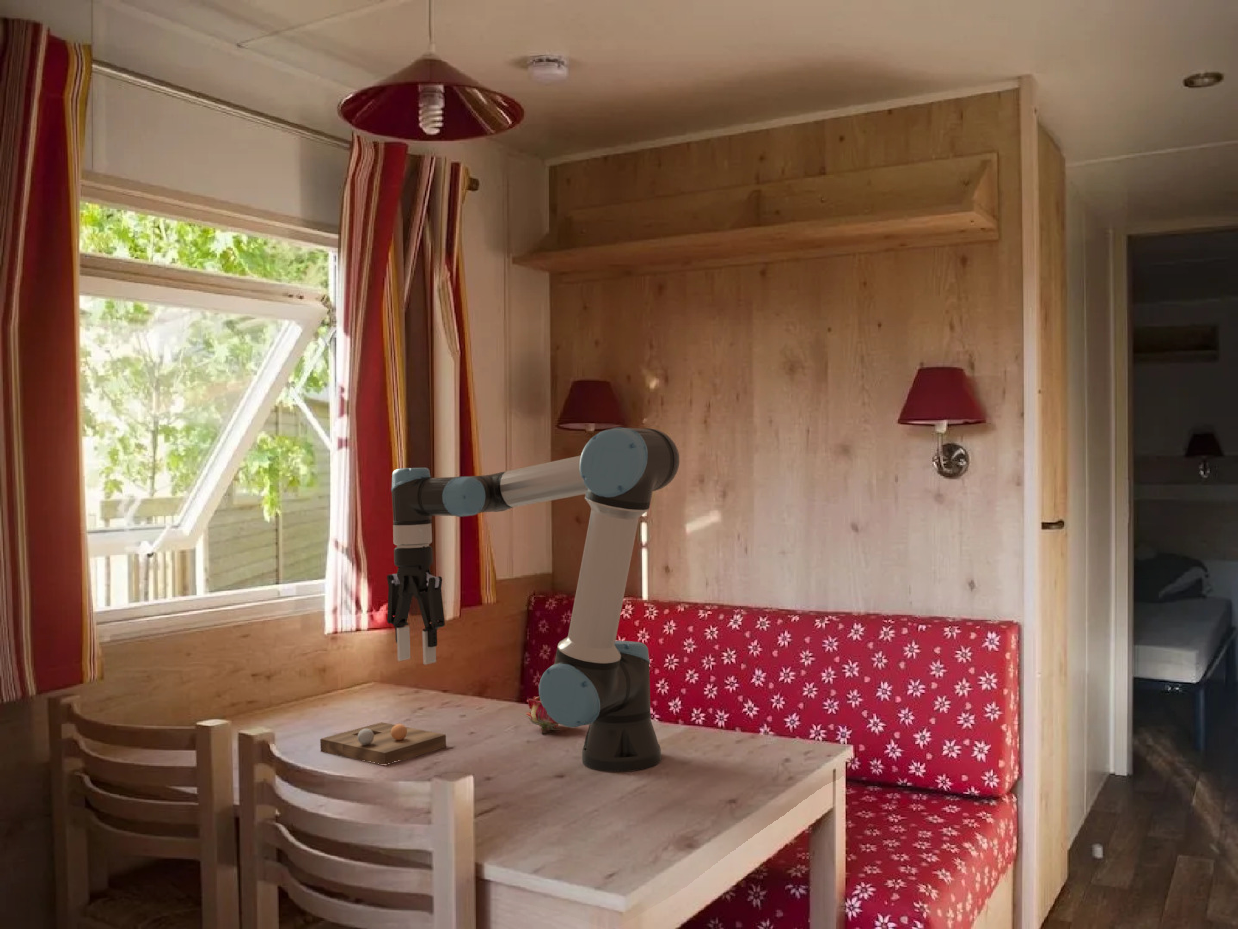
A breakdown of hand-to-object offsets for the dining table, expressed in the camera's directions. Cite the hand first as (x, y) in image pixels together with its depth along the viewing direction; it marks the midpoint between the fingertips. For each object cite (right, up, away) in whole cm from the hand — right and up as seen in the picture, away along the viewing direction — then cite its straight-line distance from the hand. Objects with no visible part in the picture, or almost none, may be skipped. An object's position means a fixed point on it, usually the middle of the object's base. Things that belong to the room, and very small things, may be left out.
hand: (416, 661), depth 219 cm
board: (-8, -19, +7) cm, 22 cm away
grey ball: (-10, -15, +1) cm, 18 cm away
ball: (-4, -15, +4) cm, 16 cm away
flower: (+25, -18, +18) cm, 36 cm away
